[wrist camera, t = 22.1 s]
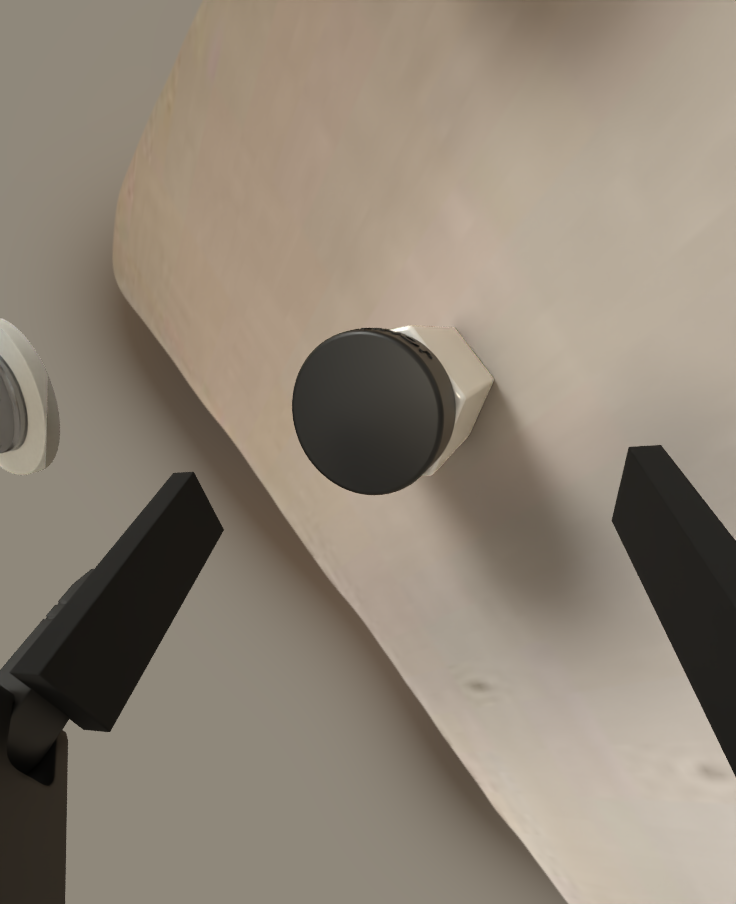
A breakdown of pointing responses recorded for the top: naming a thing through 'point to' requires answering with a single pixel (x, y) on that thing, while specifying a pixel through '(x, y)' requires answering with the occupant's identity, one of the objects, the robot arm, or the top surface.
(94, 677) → the robot arm
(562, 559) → the top surface
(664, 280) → the top surface
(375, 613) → the top surface
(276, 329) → the top surface
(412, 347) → the jar
